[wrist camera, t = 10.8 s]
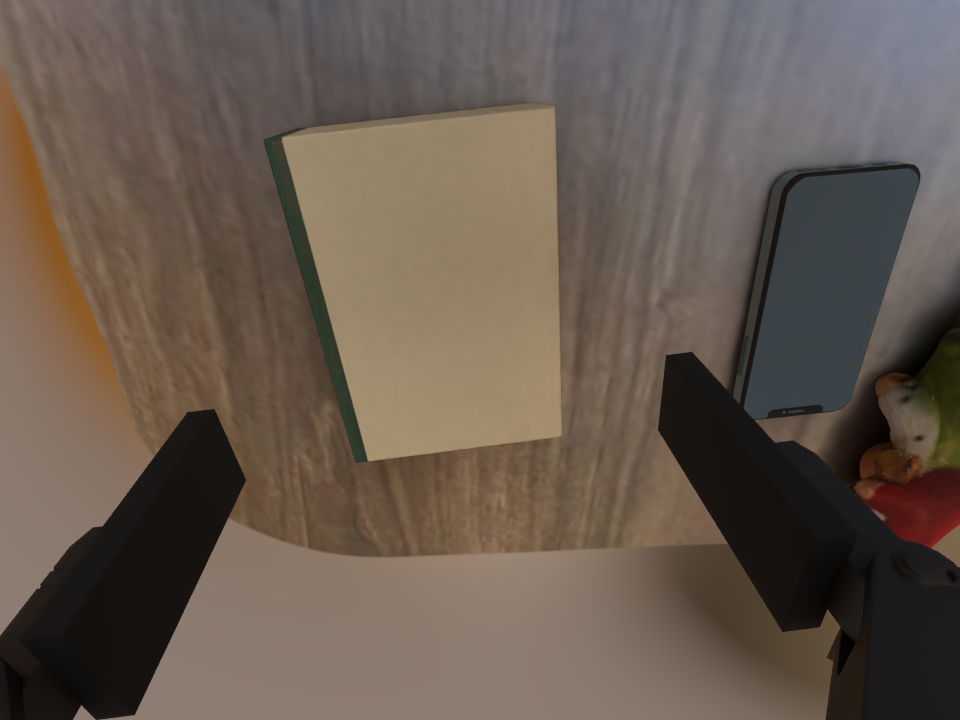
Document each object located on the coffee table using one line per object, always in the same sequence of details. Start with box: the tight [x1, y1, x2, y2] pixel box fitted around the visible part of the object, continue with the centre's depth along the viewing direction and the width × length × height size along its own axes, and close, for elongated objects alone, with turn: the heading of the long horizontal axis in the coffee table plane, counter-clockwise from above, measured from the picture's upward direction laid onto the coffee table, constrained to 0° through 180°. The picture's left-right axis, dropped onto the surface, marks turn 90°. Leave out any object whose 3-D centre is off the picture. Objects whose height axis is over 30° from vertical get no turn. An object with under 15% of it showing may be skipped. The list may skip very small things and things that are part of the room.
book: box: [264, 103, 562, 463], centre depth 25 cm, size 16×11×5 cm
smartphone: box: [733, 162, 920, 420], centre depth 29 cm, size 8×2×15 cm
